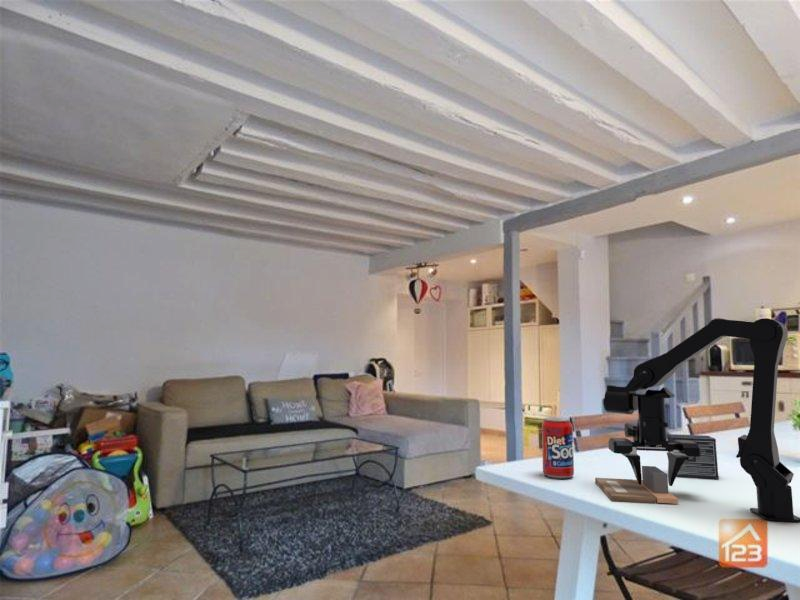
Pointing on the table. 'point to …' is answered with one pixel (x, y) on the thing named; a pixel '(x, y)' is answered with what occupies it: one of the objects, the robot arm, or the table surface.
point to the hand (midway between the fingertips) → (654, 484)
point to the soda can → (557, 447)
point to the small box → (699, 465)
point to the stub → (657, 484)
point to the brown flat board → (624, 490)
